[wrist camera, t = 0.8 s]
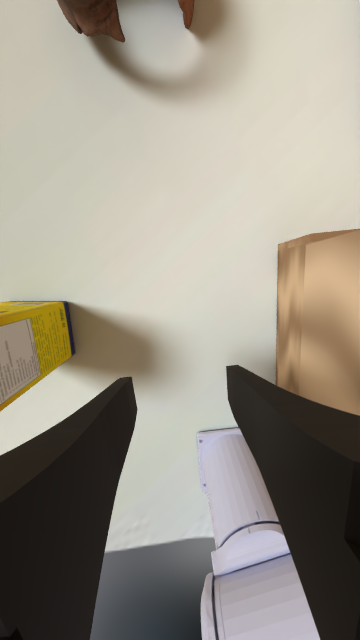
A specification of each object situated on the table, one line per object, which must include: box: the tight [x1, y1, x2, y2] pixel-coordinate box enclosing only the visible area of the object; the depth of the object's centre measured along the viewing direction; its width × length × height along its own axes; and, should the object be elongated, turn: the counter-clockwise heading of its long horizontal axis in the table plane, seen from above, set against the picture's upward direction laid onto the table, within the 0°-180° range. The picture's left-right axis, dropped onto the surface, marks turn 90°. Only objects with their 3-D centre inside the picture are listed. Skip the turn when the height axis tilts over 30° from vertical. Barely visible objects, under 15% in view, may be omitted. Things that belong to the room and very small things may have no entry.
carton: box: [276, 229, 360, 395], centre depth 18 cm, size 16×10×4 cm, turn 6°
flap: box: [299, 230, 360, 416], centre depth 11 cm, size 14×9×1 cm
